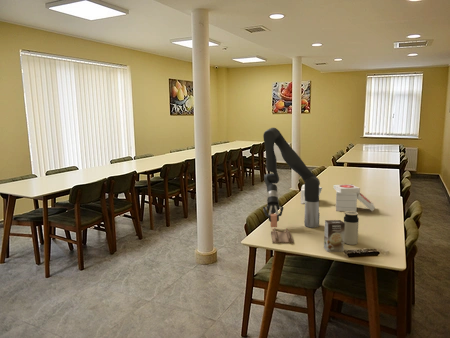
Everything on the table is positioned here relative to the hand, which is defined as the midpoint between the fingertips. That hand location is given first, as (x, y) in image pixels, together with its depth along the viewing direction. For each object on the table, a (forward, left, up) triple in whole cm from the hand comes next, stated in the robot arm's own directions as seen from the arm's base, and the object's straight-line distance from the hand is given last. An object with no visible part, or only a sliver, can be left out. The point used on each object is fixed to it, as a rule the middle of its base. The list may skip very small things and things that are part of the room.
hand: (273, 221), depth 224 cm
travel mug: (-43, +21, -6) cm, 48 cm away
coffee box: (-31, +32, -6) cm, 45 cm away
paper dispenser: (-65, -51, -6) cm, 83 cm away
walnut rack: (-4, +14, -6) cm, 16 cm away
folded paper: (-37, -76, -6) cm, 84 cm away
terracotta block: (0, -2, -4) cm, 5 cm away
